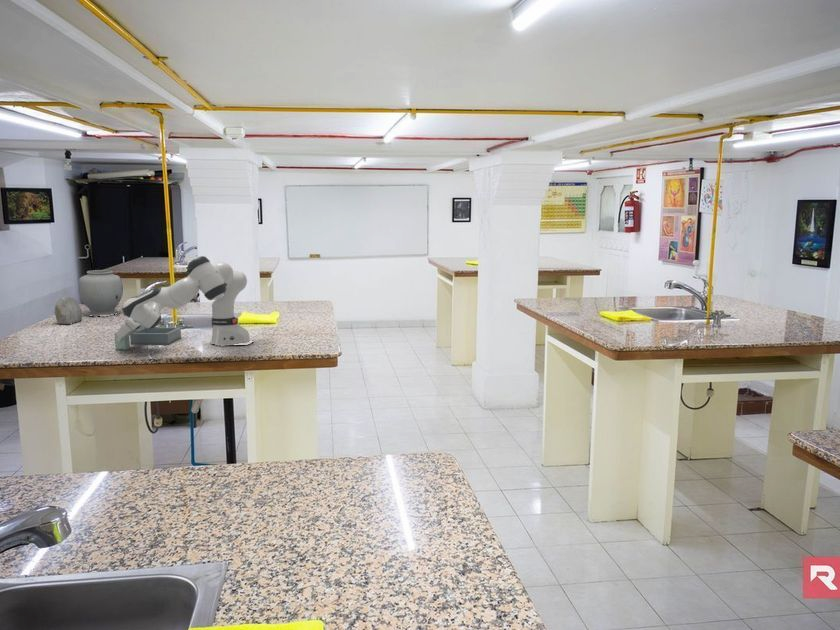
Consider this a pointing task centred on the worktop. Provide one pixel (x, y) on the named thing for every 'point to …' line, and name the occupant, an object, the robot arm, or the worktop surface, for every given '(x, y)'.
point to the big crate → (155, 336)
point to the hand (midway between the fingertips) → (120, 339)
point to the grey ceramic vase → (100, 291)
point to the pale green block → (122, 343)
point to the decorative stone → (67, 311)
